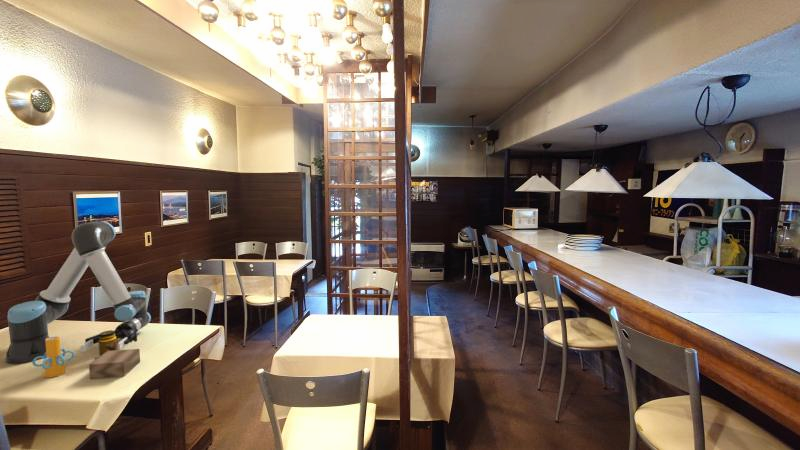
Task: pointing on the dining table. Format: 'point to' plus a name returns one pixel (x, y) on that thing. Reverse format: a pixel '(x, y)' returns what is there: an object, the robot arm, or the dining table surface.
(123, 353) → the riser
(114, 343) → the condiment
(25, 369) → the dining table surface
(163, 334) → the dining table surface
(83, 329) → the dining table surface
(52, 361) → the cylinder
